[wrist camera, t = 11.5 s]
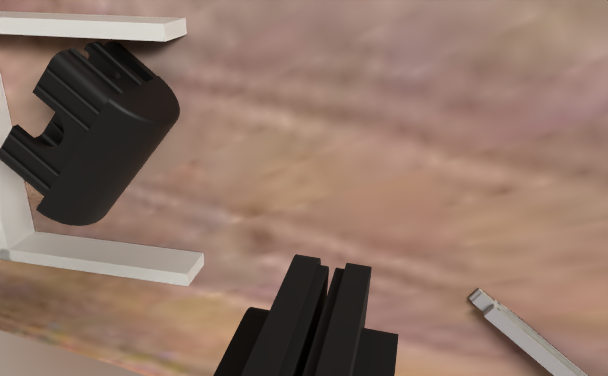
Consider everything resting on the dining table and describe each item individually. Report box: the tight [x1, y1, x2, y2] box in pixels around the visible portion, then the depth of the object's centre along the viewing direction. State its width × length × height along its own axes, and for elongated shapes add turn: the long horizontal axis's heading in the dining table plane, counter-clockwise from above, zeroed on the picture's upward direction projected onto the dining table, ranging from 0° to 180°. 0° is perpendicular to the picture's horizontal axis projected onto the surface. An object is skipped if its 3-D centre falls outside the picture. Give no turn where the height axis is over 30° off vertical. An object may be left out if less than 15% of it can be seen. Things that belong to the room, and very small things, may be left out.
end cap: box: [0, 41, 180, 226], centre depth 35 cm, size 10×7×7 cm
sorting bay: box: [0, 11, 204, 286], centre depth 38 cm, size 18×16×3 cm
